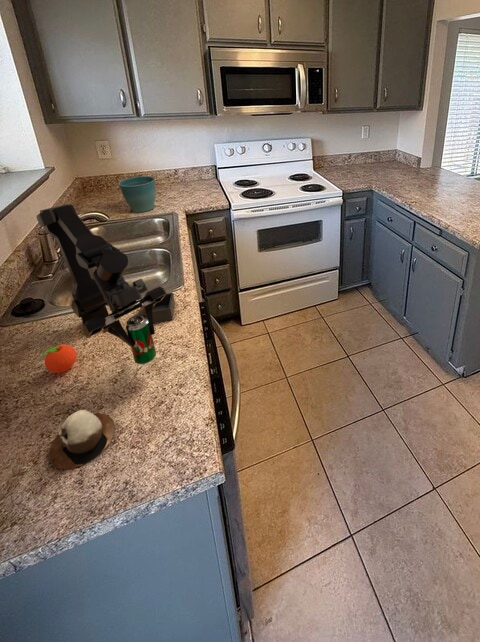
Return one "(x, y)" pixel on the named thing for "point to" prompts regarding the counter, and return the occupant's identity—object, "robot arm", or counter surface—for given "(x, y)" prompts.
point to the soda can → (141, 339)
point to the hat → (81, 439)
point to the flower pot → (139, 193)
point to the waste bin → (163, 309)
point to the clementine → (60, 358)
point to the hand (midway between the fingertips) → (143, 340)
